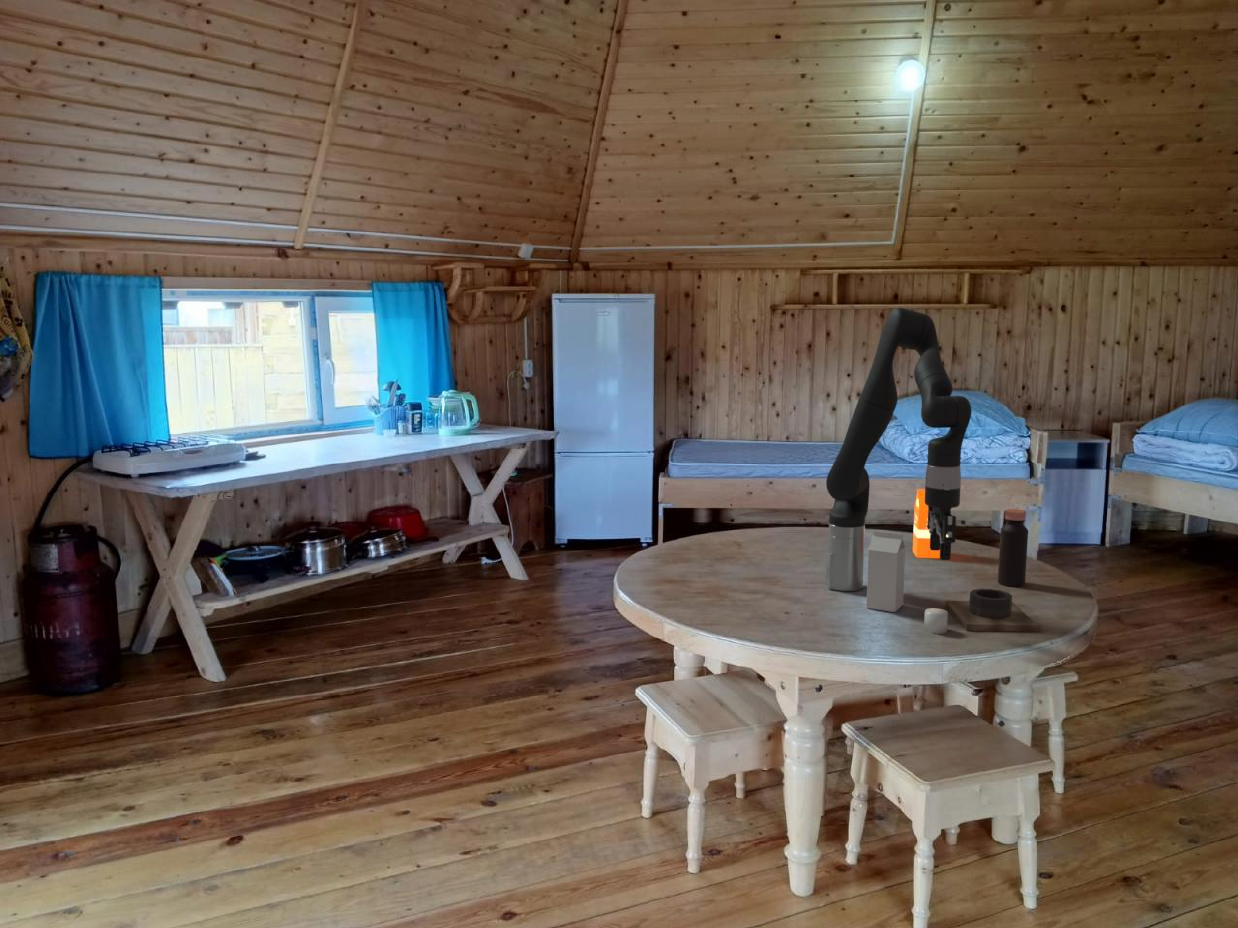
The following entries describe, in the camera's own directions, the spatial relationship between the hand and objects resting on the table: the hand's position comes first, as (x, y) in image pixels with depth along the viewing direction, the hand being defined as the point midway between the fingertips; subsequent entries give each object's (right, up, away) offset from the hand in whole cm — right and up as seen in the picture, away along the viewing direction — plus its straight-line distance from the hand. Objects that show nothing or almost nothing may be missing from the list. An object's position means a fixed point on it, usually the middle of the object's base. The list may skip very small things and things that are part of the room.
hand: (939, 554), depth 214 cm
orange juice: (+21, -7, +70) cm, 73 cm away
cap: (0, -18, +3) cm, 18 cm away
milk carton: (-7, -15, +20) cm, 26 cm away
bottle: (+33, -12, +39) cm, 52 cm away
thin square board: (+15, -16, +11) cm, 25 cm away
